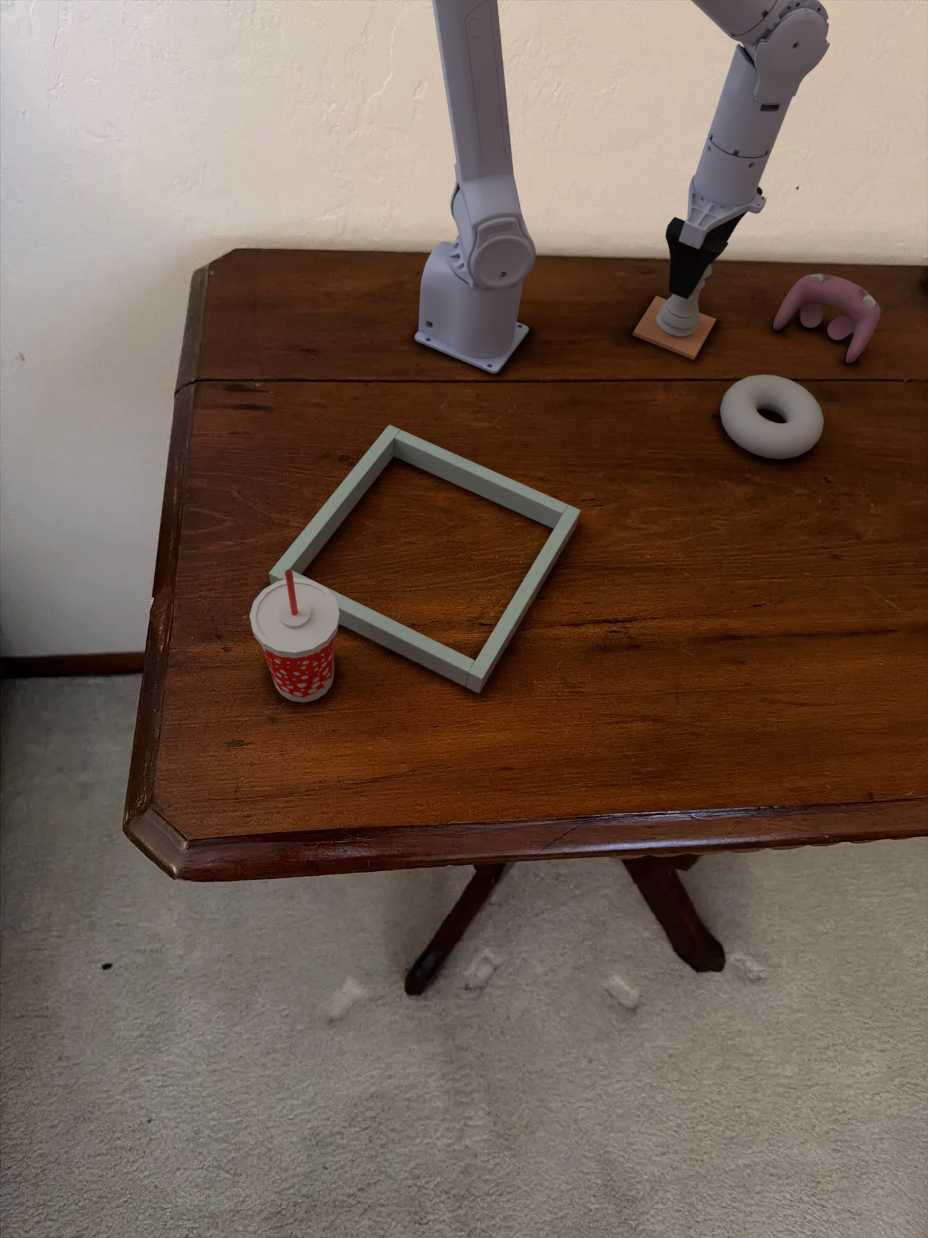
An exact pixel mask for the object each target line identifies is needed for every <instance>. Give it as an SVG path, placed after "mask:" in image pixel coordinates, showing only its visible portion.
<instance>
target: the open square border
mask: <svg viewBox="0 0 928 1238" xmlns="http://www.w3.org/2000/svg"><path fill="white" fill-rule="evenodd" d="M393 457H394V458H397V459H399V460H401V461H403V462H406V463H408V464H410V465H412V466H414V467H417V468H418V469H421V470H424V471H425V472H427V473H429V474H432V475H434V476H437V477H438V478H441V479H443V480H445V481H447V482H450V483H452V484H454V485H456V486H458V487H461V488H463V489H465V490H467V491H469V492H471V493H474V494H476V495H479V496H481V497H483V498H485V499H487V500H489V501H491V502H494V503H495V504H498V505H500V506H503V507H505V508H507V509H509V510H511V511H514V512H516V513H518V514H520V515H522V516H525V517H527V518H529V519H531V520H533V521H536V522H537V523H540V524H542V525H545V527H546V526H547V527H549V528H551V529H553V530H552V532H551V534H550V535H549V537H548V539H547V540H546V542H545V543H544V545H543V547H542V548H541V550H540V552H539V553H538V555H537V557H536V558H535V560H534V562H533V563H532V565H531V567H530V568H529V570H528V572H527V573H526V575H525V577H524V578H523V580H522V582H521V583H520V585H519V587H518V589H517V590H516V591H515V594H514V595H513V597H512V598H511V601H510V602H509V603H508V605H507V607H506V609H505V610H504V612H503V613H502V615H501V617H500V619H499V620H498V622H497V624H496V626H495V627H494V629H493V631H492V632H491V634H490V636H489V637H488V638H487V640H486V642H485V643H484V645H483V647H482V649H481V651H480V652H479V654H478V655H477V657H476V659H475V660H474V659H473V658H471V657H469V656H467V655H464V654H463V653H460V652H459V651H457V650H455V649H453V648H450V647H449V646H446V645H444V644H442V643H440V642H438V641H436V640H434V639H433V638H431V637H429V636H427V635H424V634H422V633H421V632H418V631H416V630H414V629H412V628H410V627H409V626H406V625H404V624H402V623H400V622H398V621H395V620H394V619H392V618H390V617H388V616H386V615H384V614H381V613H379V612H378V611H376V610H374V609H372V608H369V607H368V606H366V605H363V604H361V603H359V602H358V601H355V600H353V599H351V598H349V597H347V596H345V595H343V594H341V593H339V592H337V591H335V590H333V589H330V588H329V587H328V586H325V587H326V588H327V589H328V590H329V591H330V592H331V594H332V595H333V596H334V597H335V598H336V601H337V605H338V609H339V612H340V616H339V618H340V619H339V624H338V625H341V626H343V627H345V628H347V629H348V630H351V631H352V632H354V633H357V634H359V635H360V636H362V637H365V638H366V639H369V640H371V641H373V642H375V643H376V644H379V645H381V646H383V647H385V648H387V649H389V650H391V651H392V652H395V653H397V654H399V655H401V656H403V657H405V658H407V659H409V660H410V661H413V662H415V663H417V664H419V665H421V666H423V667H425V668H426V669H428V670H431V671H433V672H435V673H437V674H439V675H440V676H443V677H445V678H447V679H449V680H451V681H452V682H454V683H456V684H458V685H461V686H463V687H466V688H467V689H468V690H470V691H473V692H475V693H477V694H480V693H481V691H482V690H483V688H484V686H485V684H486V683H487V681H488V680H489V678H490V677H491V674H492V673H493V670H494V669H495V668H496V666H497V664H498V662H499V661H500V659H501V657H502V656H503V654H504V652H505V650H506V648H507V647H508V645H509V644H510V642H511V640H512V638H513V637H514V635H515V633H516V632H517V630H518V628H519V626H520V624H521V623H522V621H523V620H524V617H525V616H526V614H527V613H528V611H529V609H530V607H531V605H532V604H533V602H534V600H535V598H536V597H537V595H538V593H539V591H540V590H541V588H542V586H543V585H544V583H545V581H546V579H547V578H548V576H549V575H550V573H551V571H552V569H553V568H554V566H555V564H556V562H557V561H558V559H559V557H560V555H561V554H562V552H563V550H564V549H565V547H566V545H567V544H568V542H569V540H570V539H571V537H572V535H573V533H574V531H575V530H576V527H577V524H578V521H579V518H580V514H581V512H582V511H581V509H580V508H577V507H575V506H572V505H571V504H568V503H566V502H564V501H561V500H558V499H557V498H554V497H552V496H550V495H548V494H546V493H543V492H541V491H540V490H537V489H534V488H533V487H530V486H528V485H525V484H523V483H521V482H519V481H517V480H514V479H512V478H510V477H507V476H505V475H503V474H501V473H498V472H497V471H494V470H492V469H489V468H488V467H485V466H483V465H481V464H479V463H476V462H474V461H473V460H472V461H471V460H470V459H467V458H465V457H463V456H460V455H459V454H456V453H454V452H452V451H449V450H447V449H445V448H442V447H441V446H438V445H436V444H433V443H432V442H429V441H427V440H424V439H423V438H420V437H418V436H417V435H414V434H411V433H409V432H407V431H405V430H402V429H401V428H398V427H396V426H394V425H392V424H388V426H386V427H385V429H384V430H383V431H382V433H381V434H380V435H379V436H378V438H377V439H376V440H375V441H374V443H372V445H371V446H370V448H369V449H368V450H367V451H366V452H365V453H364V455H363V456H362V457H361V458H360V459H359V461H358V462H357V463H356V465H355V466H354V467H353V468H352V470H351V471H350V472H349V473H348V475H347V476H346V477H345V479H344V480H343V481H342V482H341V483H340V484H339V486H338V487H337V488H336V489H335V491H334V492H333V493H332V494H331V495H330V497H329V498H328V499H327V501H325V503H324V505H322V506H321V508H320V509H319V510H318V512H317V513H316V514H315V515H314V516H313V518H312V519H311V520H310V522H308V524H307V525H306V526H305V528H304V529H303V530H302V531H301V533H300V534H298V536H297V538H296V539H295V540H294V541H293V542H292V544H290V546H289V548H287V551H285V553H284V554H283V555H282V556H281V558H280V559H279V560H278V561H277V562H276V563H275V565H274V566H273V567H272V568H271V570H270V571H269V572H268V575H269V576H268V577H269V581H270V585H272V584H274V583H276V582H277V581H281V580H286V576H285V571H286V570H288V569H289V570H292V573H293V578H300V579H308V580H312V579H311V578H308V577H307V576H304V575H302V574H303V573H304V571H305V570H306V569H307V568H308V566H309V565H310V564H311V562H312V561H313V560H314V558H315V557H316V556H317V555H318V553H319V552H320V551H321V550H322V548H323V547H324V545H325V544H326V543H328V541H329V539H331V537H332V535H333V534H334V533H335V532H336V530H338V528H339V527H340V526H341V524H342V523H343V521H344V520H345V519H346V518H347V516H348V515H349V514H350V513H351V511H352V510H353V509H354V507H355V506H356V505H357V504H358V502H359V501H360V500H361V498H362V497H363V496H364V494H365V493H366V492H367V491H368V490H369V488H370V487H371V485H372V484H373V483H374V482H375V480H376V479H377V478H378V477H379V476H380V474H381V473H382V471H383V470H384V469H385V468H386V466H387V465H388V464H389V463H390V462H391V460H392V459H393Z"/></svg>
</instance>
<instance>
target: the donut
mask: <svg viewBox="0 0 928 1238" xmlns="http://www.w3.org/2000/svg"><path fill="white" fill-rule="evenodd" d="M758 410H767V411H769V412H773V413H775V414H777V415H779V416H780V417H781V418H782V419H783V420H784V421H785V422H784V423H780V422H779V423H778V422H775V421H771V420H769V419H767V418H765V417H763V416H762V415H761V413H759V412H758ZM719 412H720V413H719V414H720V418H721V425H722V426H723V428H724V430H725V432H726V433H727V436H729V437H730V438H731V439H732V440H733V441H734V442H735V443H736V444H737V445H738V446H739V447H740V448H742V449H745V450H746V451H748V452H749V453H751V454H754V455H756V456H760V457H763V458H767V459H777V460H785V459H791V458H797V457H799V456H800V455H802V454H804V453H806V452H808V451H810V450H811V449H812V448H813V447H814V446H815V444H816V443H817V442H818V441H819V439H820V438H821V436H822V434H823V429H824V423H825V421H824V415H823V411H822V407H821V406H820V404H819V402H818V401H817V400H816V398H815V397H814V395H813V394H812V393H811V392H809V390H808V389H806V388H805V387H804V386H802V385H800V384H799V383H797V382H795V381H793V380H791V379H788V378H786V377H782V376H779V375H773V374H757V375H749V376H747V377H744V378H742V379H739V380H738V381H736V382H735V383H733V384H732V386H730V387H729V389H728V390H727V391H726V392H725V393H724V395H723V398H722V401H721V404H720V407H719Z"/></svg>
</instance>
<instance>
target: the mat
mask: <svg viewBox="0 0 928 1238" xmlns="http://www.w3.org/2000/svg"><path fill="white" fill-rule="evenodd" d="M667 300H668V299H666V298H663V297H661V296H658V295H656V296H655V297H654V299H653V300H652V302H651V303H650V305H649V306H648V308H647V309H646V312H645V313H644V314H643V315H642V318H641V319H640V321H639V322H638V324H637V325H636V327H635V329H634V330H633V332H632V336H633V337H636V338H638V339H641V340H643V341H646V342H649V343H650V344H653V345H655V346H658V347H661V348H663V349H665V350H667V351H670V352H673V353H675V354H678V355H680V356H683V357H685V358H687V359H690V360H692V361H695V359H696V357H697V355H698V353H699V352H700V350H701V348H702V347H703V345H704V343H705V341H706V340H707V338H708V335H709V334H710V333H711V330H712V329H713V327H714V325H715V323H716V320H717V318H715V317H712V316H709V315H707V314H704V313H702V312H699V315H700V320H699V322H698V324H697V325H698V327H697V329H696V331H695V332H693V333H692V334H690V335H688V336H686V337H673V336H670V335H668V334H666V333H665V332H663V331H662V330H661V329H660V327H659V326H658V323H657V318H656V316H657V315H658V313H659V310H660V308H661V306H662V305H663V303H664V302H666V301H667Z"/></svg>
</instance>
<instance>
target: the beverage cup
mask: <svg viewBox="0 0 928 1238" xmlns="http://www.w3.org/2000/svg"><path fill="white" fill-rule="evenodd" d="M285 576H286V580H281V581H277V582H276V583H274V584H272V585H271V584H270V585H269V586H267V587H265V588H263V589H262V591H261V592H260V593H259V594H258V595H257V597H256V598H255V599H254V600H253V602H252V606H251V608H250V613H249V619H250V625H251V629H252V633H253V636H254V638H255V639H256V641H258V643H259V644H260V646H261V649H262V652H263V654H264V657H265V660H266V663H267V666H268V670H269V671H270V672H269V673H270V674H271V677H272V681H273V683H274V687H275V688H276V690H277V691H278V692H279V693H280V694H281V696H282V697H284V698H286V699H287V700H290V701H292V702H298V703H307V702H308V703H309V702H312V701H316V700H318V699H320V697H322V696H324V695H325V694H327V692H328V691H329V689H330V688H331V686H332V685H333V681H334V676H335V657H336V655H335V653H336V634H337V633H338V628H339V625H340V624H339V619H340V618H339V616H340V612H339V609H338V605H337V601H336V598H335V597H334V596H333V595H332V594H331V592H330V591H329V590H328V589H327V588H328V587H327V586H325V585H323V584H321V583H318V582H316V581H314V580H313V579H311V580H308V579H300V578H293V573H292V570H289V569H288V570H286V571H285ZM326 587H327V588H326Z"/></svg>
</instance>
